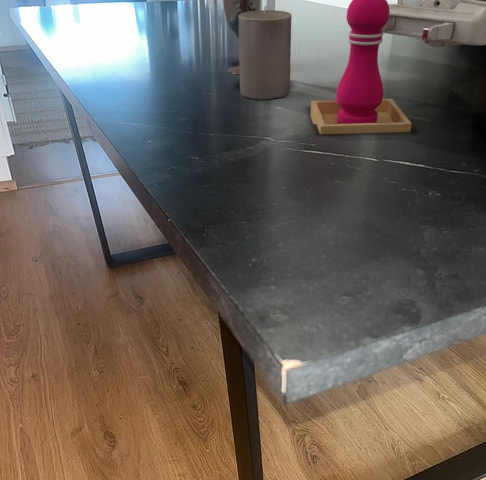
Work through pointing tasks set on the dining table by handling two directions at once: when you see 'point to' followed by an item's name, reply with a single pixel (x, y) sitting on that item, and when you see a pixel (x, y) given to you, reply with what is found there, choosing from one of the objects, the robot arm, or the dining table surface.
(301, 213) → the dining table surface
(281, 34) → the pillar candle
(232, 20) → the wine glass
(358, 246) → the dining table surface
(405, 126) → the tray
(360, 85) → the pepper mill
